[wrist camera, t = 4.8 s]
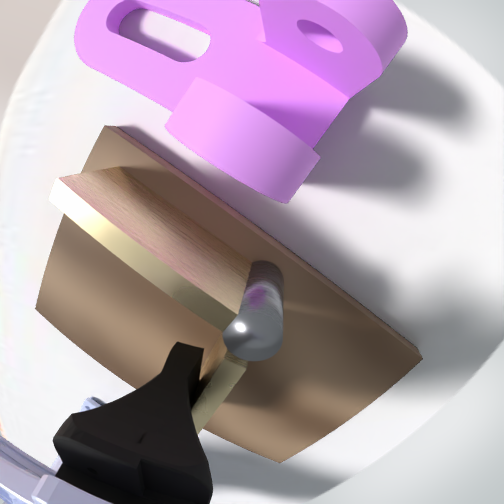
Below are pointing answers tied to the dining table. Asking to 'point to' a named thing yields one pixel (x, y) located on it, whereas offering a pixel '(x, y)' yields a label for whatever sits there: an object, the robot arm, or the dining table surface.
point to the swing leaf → (215, 382)
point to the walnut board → (206, 335)
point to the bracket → (251, 76)
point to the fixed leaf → (179, 258)
